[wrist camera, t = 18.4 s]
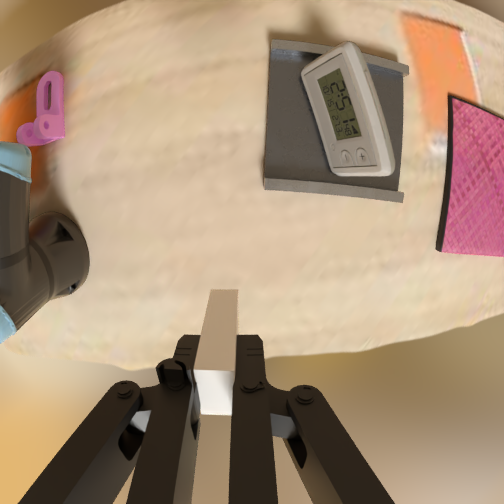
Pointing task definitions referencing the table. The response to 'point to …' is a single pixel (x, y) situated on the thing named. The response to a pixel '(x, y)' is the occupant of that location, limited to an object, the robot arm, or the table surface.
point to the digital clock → (349, 113)
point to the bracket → (45, 114)
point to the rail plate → (307, 132)
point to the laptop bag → (473, 182)
